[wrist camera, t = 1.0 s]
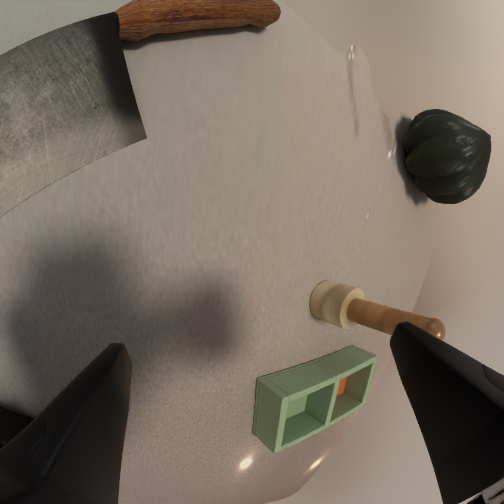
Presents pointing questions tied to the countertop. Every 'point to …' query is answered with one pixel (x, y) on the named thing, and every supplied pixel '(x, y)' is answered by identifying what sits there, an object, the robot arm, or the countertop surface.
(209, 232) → the countertop surface
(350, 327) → the dish brush
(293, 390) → the green divided tray
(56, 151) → the meat cleaver
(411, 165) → the squash
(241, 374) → the countertop surface
